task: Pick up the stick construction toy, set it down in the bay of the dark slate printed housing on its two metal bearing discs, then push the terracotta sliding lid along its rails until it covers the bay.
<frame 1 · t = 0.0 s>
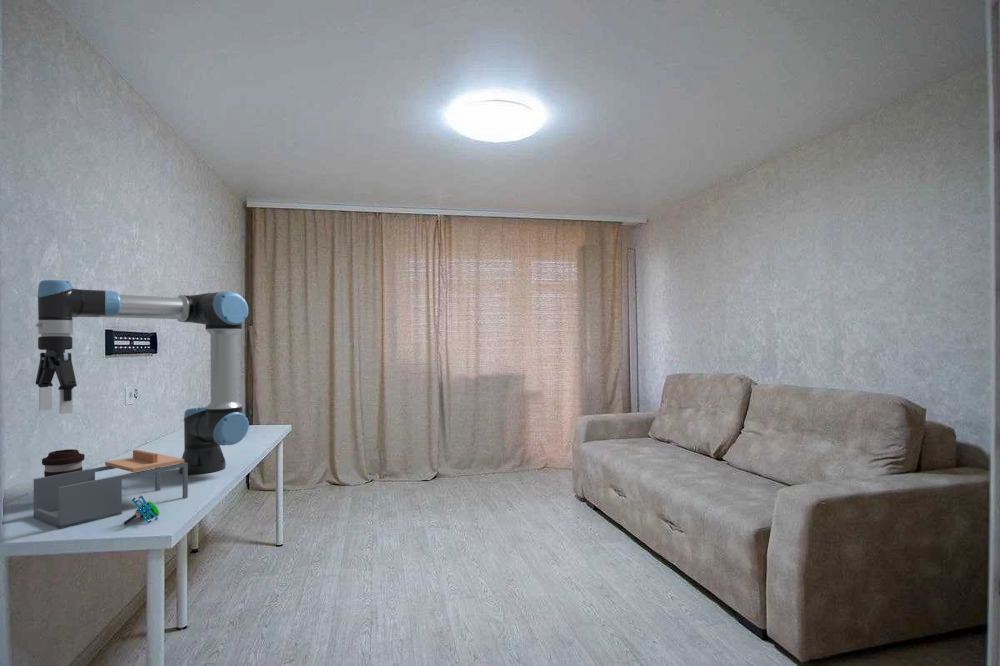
hand: (55, 411, 154), 28 cm above the table, fingers open, 13 cm apart
housing: (78, 515, 150), on the table
coffee cup: (63, 502, 163), on the table
lid: (145, 457, 165), point 13 cm above the table, slide at 17.0 cm
stick construction toy: (142, 521, 146), on the table
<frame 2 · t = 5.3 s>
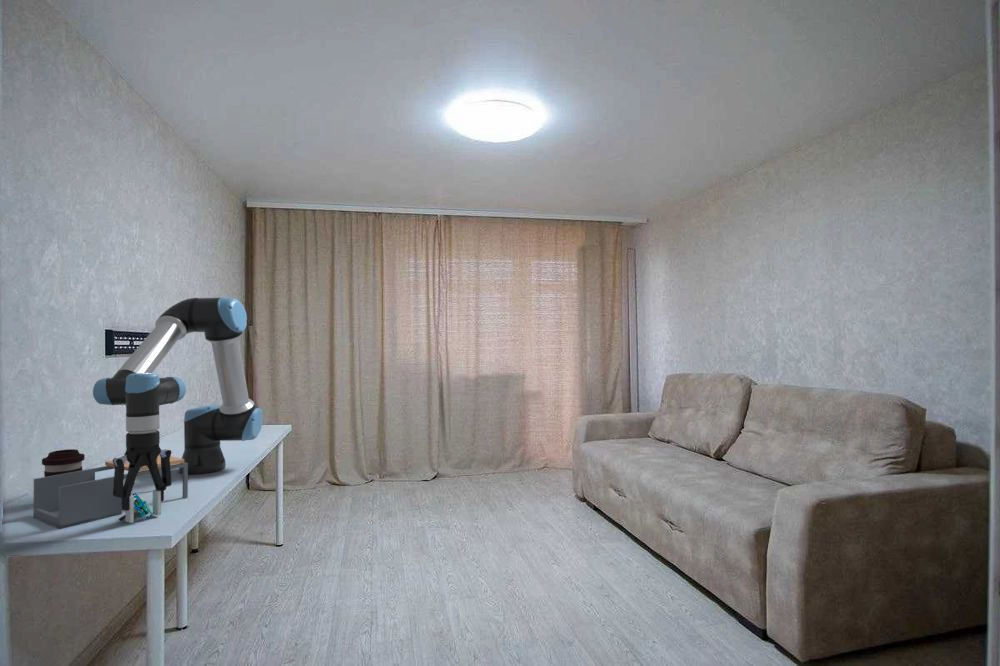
hand: (143, 517, 146), 0 cm above the table, fingers closed on stick construction toy, 6 cm apart
stick construction toy: (136, 517, 148), on the table, touching gripper
everything else where it was.
when the fingers open (2 cm above the table, at t = 13.0 s): stick construction toy stays where it is, resting on housing.
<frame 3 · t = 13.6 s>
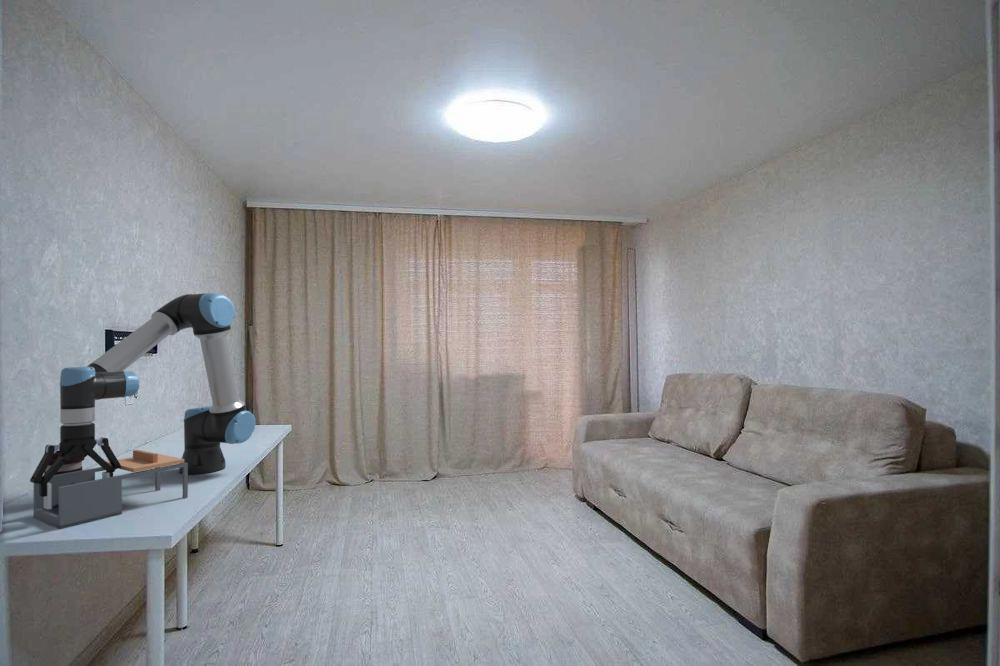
hand: (77, 501, 150), 4 cm above the table, fingers open, 13 cm apart
lid: (145, 457, 165), point 13 cm above the table, slide at 17.0 cm, touching gripper, hand
stick construction toy: (70, 505, 152), point 2 cm above the table, touching housing
everything else where it was.
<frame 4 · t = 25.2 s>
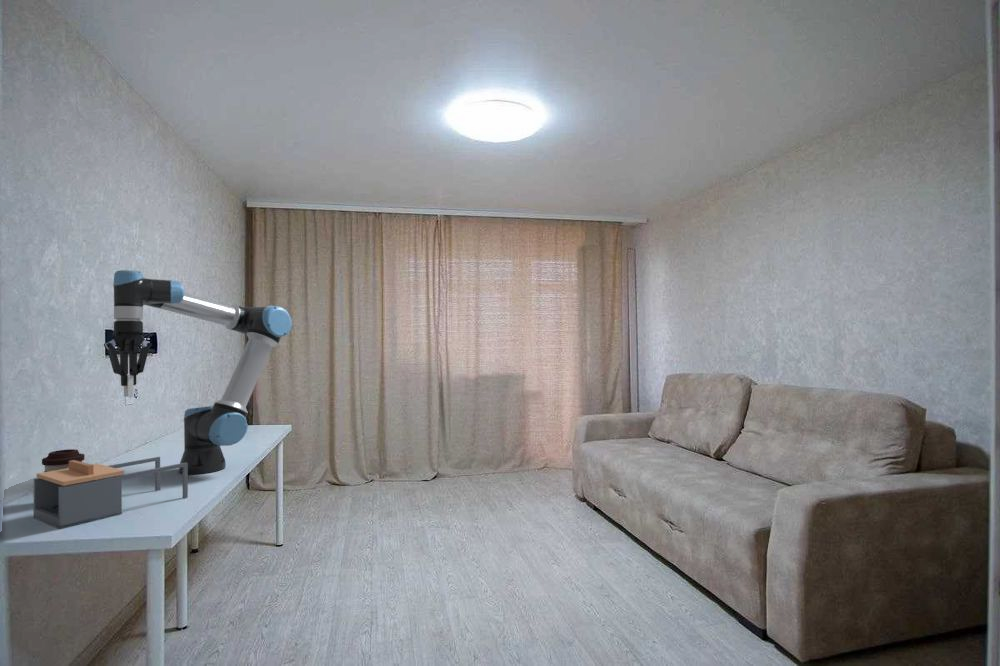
hand: (128, 396, 171), 30 cm above the table, fingers closed
lid: (80, 469, 151), point 13 cm above the table, slide at 0.7 cm
everything else where it was.
at the end: stick construction toy inside the target area on the housing (3.9 cm from its centre), point 2.2 cm above the housing's base; lid slide at 0.7 cm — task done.
